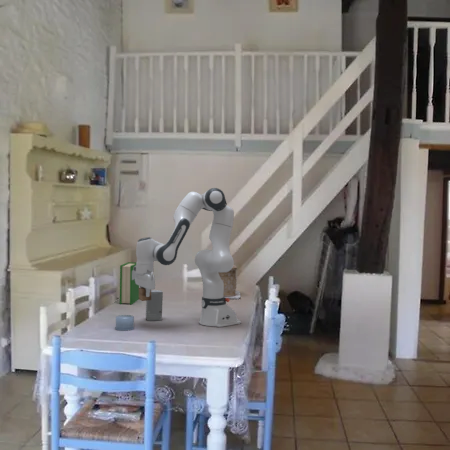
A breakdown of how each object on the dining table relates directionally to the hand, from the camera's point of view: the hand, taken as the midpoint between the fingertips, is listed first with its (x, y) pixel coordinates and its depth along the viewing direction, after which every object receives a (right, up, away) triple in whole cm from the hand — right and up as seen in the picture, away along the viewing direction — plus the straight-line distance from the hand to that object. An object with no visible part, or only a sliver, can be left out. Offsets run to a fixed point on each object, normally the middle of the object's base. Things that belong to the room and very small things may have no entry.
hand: (145, 295), depth 281 cm
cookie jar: (+40, -12, +91) cm, 100 cm away
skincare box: (+3, -15, +15) cm, 22 cm away
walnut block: (0, -2, 0) cm, 2 cm away
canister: (-9, -16, -6) cm, 20 cm away
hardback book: (-19, -12, +63) cm, 67 cm away
